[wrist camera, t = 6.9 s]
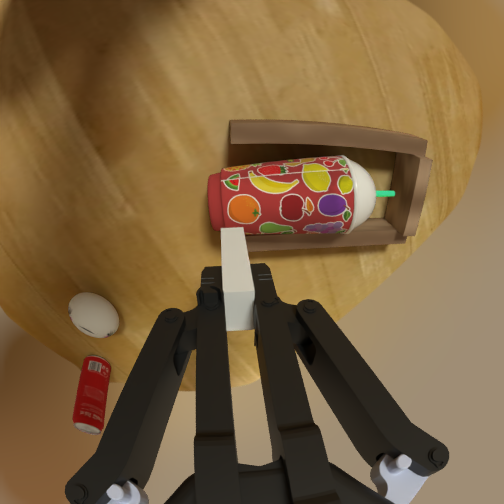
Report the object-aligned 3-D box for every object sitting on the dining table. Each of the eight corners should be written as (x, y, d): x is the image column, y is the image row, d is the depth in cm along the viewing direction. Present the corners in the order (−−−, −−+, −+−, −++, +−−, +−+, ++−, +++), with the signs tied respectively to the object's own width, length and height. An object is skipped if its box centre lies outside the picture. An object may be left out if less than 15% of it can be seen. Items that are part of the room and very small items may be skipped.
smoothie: (215, 186, 33) (372, 179, 33) (218, 253, 31) (387, 240, 31) (204, 145, 25) (397, 142, 25) (205, 226, 23) (421, 213, 23)
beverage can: (80, 353, 44) (61, 419, 31) (107, 354, 44) (91, 424, 32) (92, 370, 47) (78, 433, 35) (119, 372, 48) (107, 438, 35)
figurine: (74, 297, 37) (59, 328, 31) (83, 272, 35) (66, 303, 29) (117, 320, 40) (107, 353, 34) (130, 298, 38) (119, 332, 32)
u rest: (229, 120, 27) (231, 125, 23) (410, 134, 29) (435, 143, 25) (232, 237, 34) (234, 260, 30) (392, 230, 36) (410, 249, 32)
